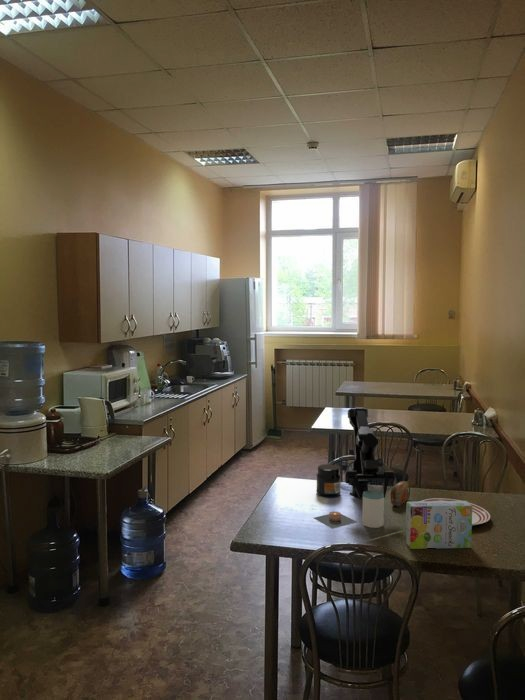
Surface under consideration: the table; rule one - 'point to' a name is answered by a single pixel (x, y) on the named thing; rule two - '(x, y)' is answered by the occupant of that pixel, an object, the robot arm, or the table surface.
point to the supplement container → (328, 480)
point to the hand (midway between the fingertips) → (372, 497)
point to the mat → (332, 524)
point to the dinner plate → (477, 512)
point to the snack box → (438, 524)
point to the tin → (400, 493)
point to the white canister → (373, 509)
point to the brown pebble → (335, 516)
